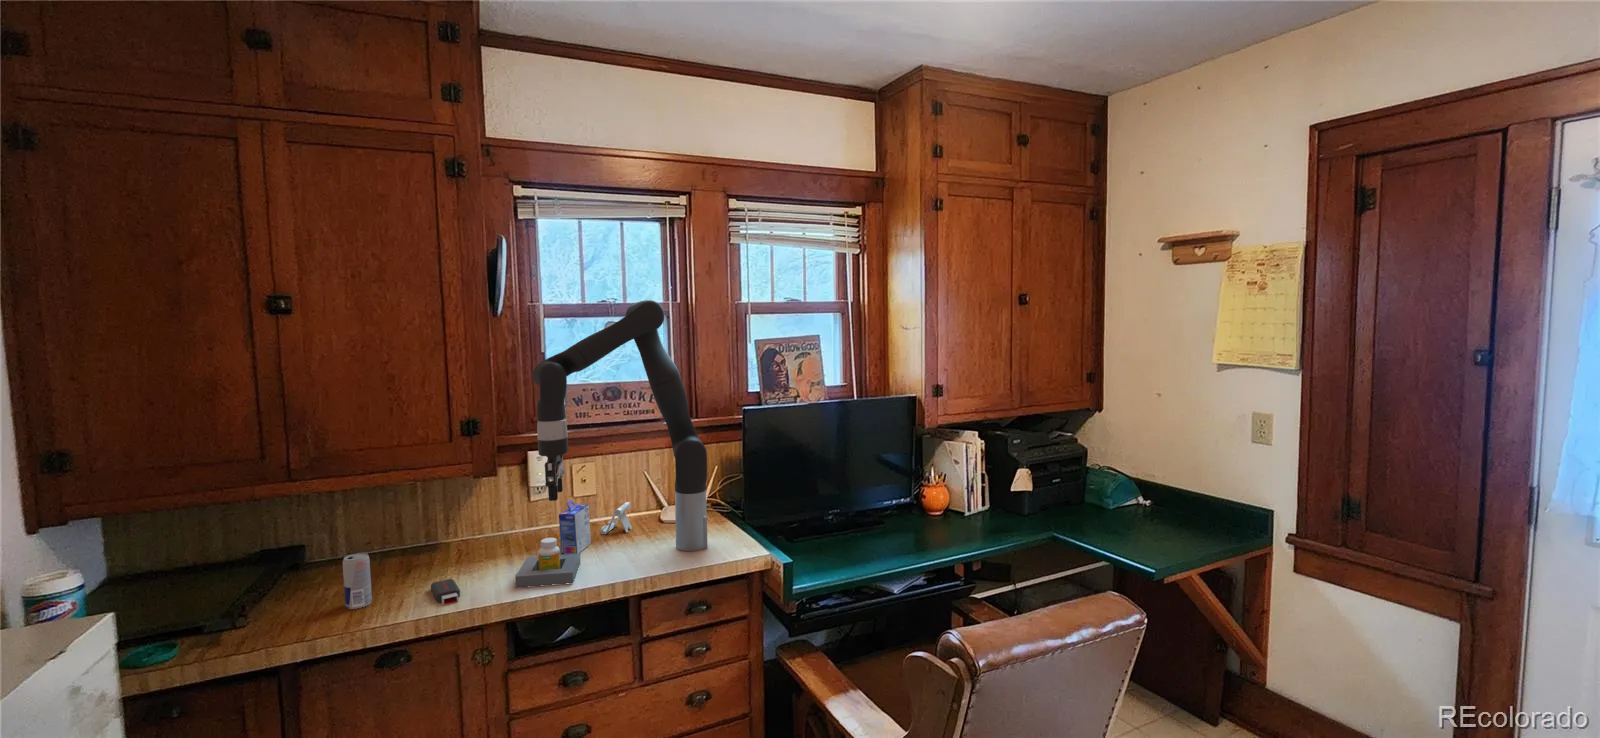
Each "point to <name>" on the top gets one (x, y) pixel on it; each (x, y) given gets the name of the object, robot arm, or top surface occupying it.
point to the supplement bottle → (549, 554)
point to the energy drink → (357, 580)
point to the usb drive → (445, 591)
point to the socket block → (548, 572)
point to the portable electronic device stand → (622, 515)
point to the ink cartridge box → (574, 528)
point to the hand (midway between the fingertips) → (556, 496)
